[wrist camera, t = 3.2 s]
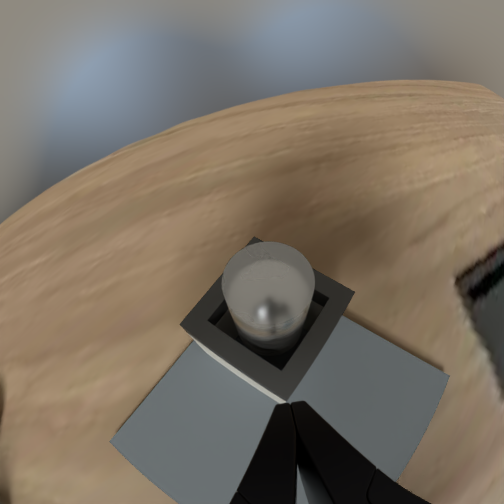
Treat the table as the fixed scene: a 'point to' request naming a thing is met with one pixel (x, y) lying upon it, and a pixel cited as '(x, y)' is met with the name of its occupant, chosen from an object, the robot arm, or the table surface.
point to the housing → (248, 363)
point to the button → (268, 295)
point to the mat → (261, 406)
